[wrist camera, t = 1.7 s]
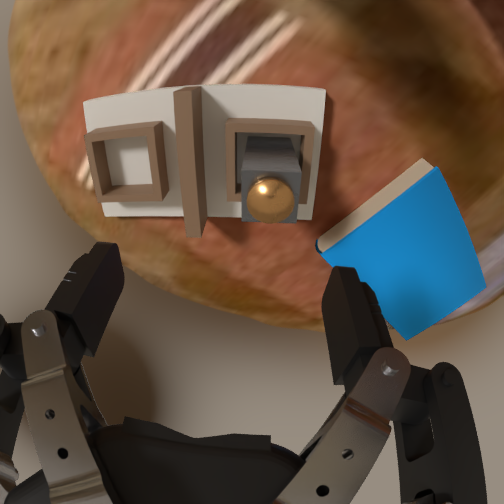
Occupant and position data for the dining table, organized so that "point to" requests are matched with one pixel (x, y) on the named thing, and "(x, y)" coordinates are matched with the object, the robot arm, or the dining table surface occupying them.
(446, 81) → the dining table surface
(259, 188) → the peg
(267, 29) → the dining table surface
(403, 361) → the robot arm
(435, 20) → the dining table surface
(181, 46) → the dining table surface
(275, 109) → the plate
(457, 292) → the book
